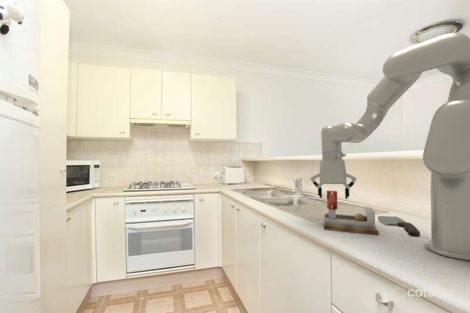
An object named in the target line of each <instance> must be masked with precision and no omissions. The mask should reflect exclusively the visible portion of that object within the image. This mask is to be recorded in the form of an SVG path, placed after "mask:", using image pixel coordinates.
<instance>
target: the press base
mask: <svg viewBox="0 0 470 313" xmlns="http://www.w3.org/2000/svg"><path fill="white" fill-rule="evenodd" d="M323 230H324V231H325V230H326V231H336V232H344V233H354V234H363V235H373V236H379V234H380V233H379V230H378V228H377V226H376V225H375V228H369V227H368V228H365V227H354V226H344V225H333V224H324V223H323Z"/></svg>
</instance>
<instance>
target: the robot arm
mask: <svg viewBox="0 0 470 313" xmlns="http://www.w3.org/2000/svg"><path fill="white" fill-rule="evenodd" d="M435 69H437V70H438V71H439V72H440V73H442V74H445V75H448V76H450V77H451V78H452V83H451V86H450V89H449V92H448V97H447V101H446V102H445V103H443V104H441V106H439V107H438V108H437V110H436V111H435V112H434V114H433V117H432V119H431V122H430V126H429V130H428V134H427V136H426V142H425V145H424V149H423V153H422V161H423V162H422V163H423V164H424V166H425V167H426V169H427V170H428V171H430V172H431V174H430V175H431V177H430V221H431V222H430V223H431V224H430V226H431V227H430V228H431V230H430V232H431V240H427V241H425V242H424V246H425V248H426V249H427V250H428V251H431V252H433V253H435V254H438V255H441V256H444V257H449V258H451V259H452V258H453V259H457V260H464V261H470V37H469V36H468V35H466V34H464V33H461V32H450V33H446V34H442V35H439V36H437V37H433V38H431V39H428V40H425V41H423V42H420V43H417V44H414V45H412V46H409V47H406V48H403V49H402V50H398V51H397V52H395V53H393V54H392V55H390V56H389V57H388V58H387V59H386V60H385V61H384V64H383V67H382V73H383V75H384V76H383V77H382V79H380V81H379V82H378V83H377V84H376V86H375V87H374V88H373V89H372V90H371V91H370V92H369V93H368V95H367V97H366V104H367V105H366V108H365V112H364V113H363V115H362V116H361V117H360V118H359V119H358V121H357V122H355V123H352V122H343V123H339V124H336V125H328V126H324V127H322V129H321V132H320V134H321V136H320V137H321V158H322V159H320V161H319V173H318V174H314V175H313V176H311V177H310V180H311V182H312V184H313V185H314V186H315V187H316V189H317V196H318V197H319V199H322V198H323V188H322V186H323V185H324V184H325V185H343V186H344V187H345V188H344V195H345V196H344V198H345V200H348V199H349V198H348V197H350V188H352V187H353V186H354V184H355V183H356V181H357V177H356V176H354V175H351V174H349V173H347V169H346V163H345V159H343V158H344V157H347V154H346V152H343V147H342V143H350V144H359V143H362V142H363V141H366V139H368V138H369V137H370V136H371V135H372V134H373V133H374V131H375V130H376V129H378V127H379V126H380V125H381V123H382V122H383V121H384V118H385V117H386V116H387V114H388V112H389V111H390V109H391V108H392V106H394V105H395V103H396V102H397V101H398V100H399V99H401V98H402V96H403V95H404V94H405V93H406V92H407V91H409V89H410V88H411V87H412V86H413V85H414V84H415V83H416V82H417V81H418V80H419V79H420V77H421V76H422V74H423V73H425V72H427V71H431V70H435ZM318 178H319V183H318V182H317V181H316V180H317V179H318ZM347 179H350V180H351V181H350V182H349V183H347Z"/></svg>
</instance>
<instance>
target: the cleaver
mask: <svg viewBox="0 0 470 313" xmlns="http://www.w3.org/2000/svg"><path fill="white" fill-rule="evenodd" d="M378 220H379V221H378ZM377 221H378V222H379V223H381V224H382V225H384V226H390V227H399V228H403V229H404V232H406V233H408V234H407V235H408V236H410V237H416V238H418V237H420V236H421V233H420V230H419V229H418V228H417V227H416V226H415V225H414V224H412V223H410V222H407V221H405V220H404V219H402V218H400V217H398V216H390V215H389V216H385V215H384V216H383V215H378V219H377Z"/></svg>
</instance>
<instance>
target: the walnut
mask: <svg viewBox="0 0 470 313" xmlns="http://www.w3.org/2000/svg"><path fill="white" fill-rule="evenodd" d="M354 220H355V221H365V216H364V213H356V214H355V216H354Z"/></svg>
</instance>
